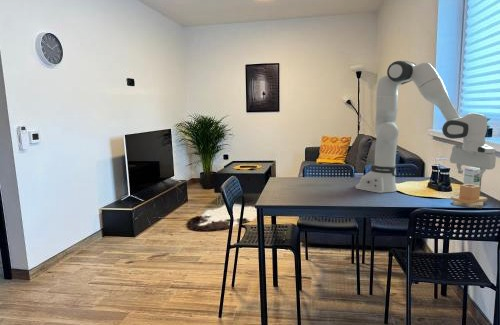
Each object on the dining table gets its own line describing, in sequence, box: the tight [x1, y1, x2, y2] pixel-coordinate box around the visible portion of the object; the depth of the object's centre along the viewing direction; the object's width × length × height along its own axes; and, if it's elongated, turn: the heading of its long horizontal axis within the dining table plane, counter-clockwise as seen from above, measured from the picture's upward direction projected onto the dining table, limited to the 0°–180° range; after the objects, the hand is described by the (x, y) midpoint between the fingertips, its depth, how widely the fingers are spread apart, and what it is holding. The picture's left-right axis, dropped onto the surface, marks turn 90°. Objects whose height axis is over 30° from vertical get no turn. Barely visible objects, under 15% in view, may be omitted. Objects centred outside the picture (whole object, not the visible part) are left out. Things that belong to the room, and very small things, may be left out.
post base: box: [452, 193, 485, 209], centre depth 172 cm, size 12×18×2 cm, turn 144°
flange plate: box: [450, 183, 489, 204], centre depth 170 cm, size 14×9×7 cm, turn 115°
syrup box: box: [462, 167, 482, 191], centre depth 184 cm, size 6×6×14 cm
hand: (469, 175), depth 168 cm, fingers open, 8 cm apart
